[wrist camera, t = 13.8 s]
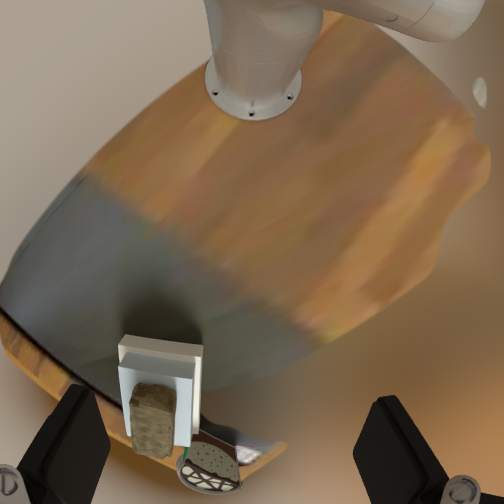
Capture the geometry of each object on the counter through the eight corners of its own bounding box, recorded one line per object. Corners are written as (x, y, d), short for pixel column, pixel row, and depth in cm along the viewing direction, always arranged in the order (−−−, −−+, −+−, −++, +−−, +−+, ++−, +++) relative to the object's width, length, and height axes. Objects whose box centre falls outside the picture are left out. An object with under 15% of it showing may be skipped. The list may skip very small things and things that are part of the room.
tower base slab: (126, 332, 42) (118, 344, 38) (203, 343, 43) (200, 356, 39) (134, 408, 45) (128, 423, 41) (200, 418, 46) (198, 434, 42)
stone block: (139, 433, 37) (132, 455, 32) (136, 376, 35) (125, 398, 30) (176, 440, 38) (172, 464, 33) (178, 385, 36) (172, 409, 31)
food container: (169, 437, 46) (160, 476, 36) (187, 421, 45) (180, 463, 36) (222, 463, 48) (221, 502, 39) (242, 450, 48) (244, 490, 38)
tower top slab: (127, 351, 38) (118, 366, 35) (195, 363, 39) (192, 379, 35) (133, 419, 41) (127, 435, 37) (192, 430, 42) (190, 447, 38)
